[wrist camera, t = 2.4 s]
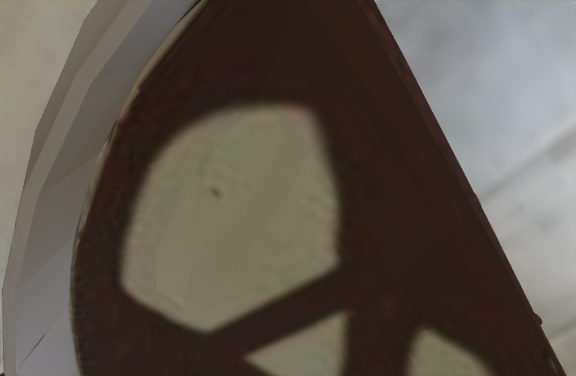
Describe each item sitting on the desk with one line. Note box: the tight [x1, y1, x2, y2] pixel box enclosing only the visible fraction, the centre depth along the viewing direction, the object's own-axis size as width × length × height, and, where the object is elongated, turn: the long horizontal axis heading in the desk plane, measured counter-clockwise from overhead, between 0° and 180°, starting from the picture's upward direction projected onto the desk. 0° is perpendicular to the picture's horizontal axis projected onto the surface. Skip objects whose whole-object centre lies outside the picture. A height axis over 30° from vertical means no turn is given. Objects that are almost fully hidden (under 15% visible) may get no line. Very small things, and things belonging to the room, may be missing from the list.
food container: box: [2, 0, 567, 376], centre depth 9 cm, size 12×6×10 cm, turn 33°
